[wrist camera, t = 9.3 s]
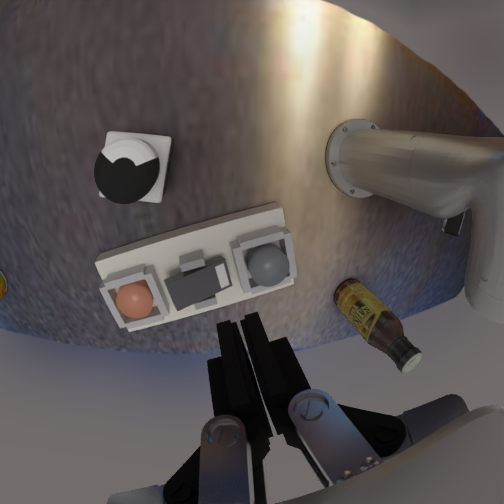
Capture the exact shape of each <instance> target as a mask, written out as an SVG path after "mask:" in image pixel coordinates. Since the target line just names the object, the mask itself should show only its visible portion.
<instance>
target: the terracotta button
mask: <svg viewBox="0 0 504 504" xmlns="http://www.w3.org/2000/svg"><path fill="white" fill-rule="evenodd" d="M153 299H154V297H153V295H152V293H151V290H150V288H149V286H148V283H147V281H146V280H145V279H143V280H139V281H136V282H133V283H129V284H126V285H123V286H120V288H119V291H118V294H117V297H116V304H117V306H118V308H119V310H120V311H121V312H122V313H123V314H124V315H126V316H128V317H131V318H142V317H145V316H147V315H148V314H149V313H150V312H151V310H152V307H153Z"/></svg>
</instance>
